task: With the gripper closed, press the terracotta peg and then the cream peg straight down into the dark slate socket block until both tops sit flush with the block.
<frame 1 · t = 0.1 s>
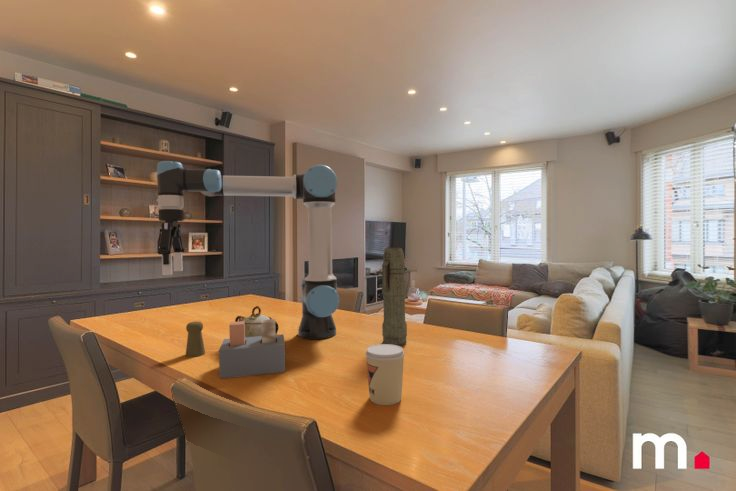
hand: (173, 273, 125), 28 cm above the table, fingers open, 13 cm apart
socket block: (254, 368, 113), on the table
terracotta peg: (237, 336, 112), point 10 cm above the table, slide at 6.0 cm
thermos: (394, 342, 138), on the table
sugar bowl: (256, 348, 134), on the table
green pepper mill: (195, 354, 128), on the table
cream lidded canister: (385, 398, 91), on the table
cream peg: (268, 334, 114), point 10 cm above the table, slide at 6.0 cm
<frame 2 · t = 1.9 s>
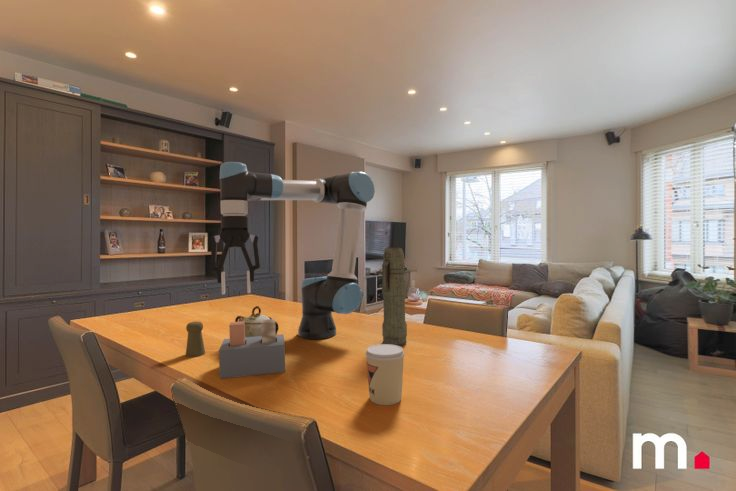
hand: (236, 293, 112), 23 cm above the table, fingers open, 6 cm apart
nothing on the table moved.
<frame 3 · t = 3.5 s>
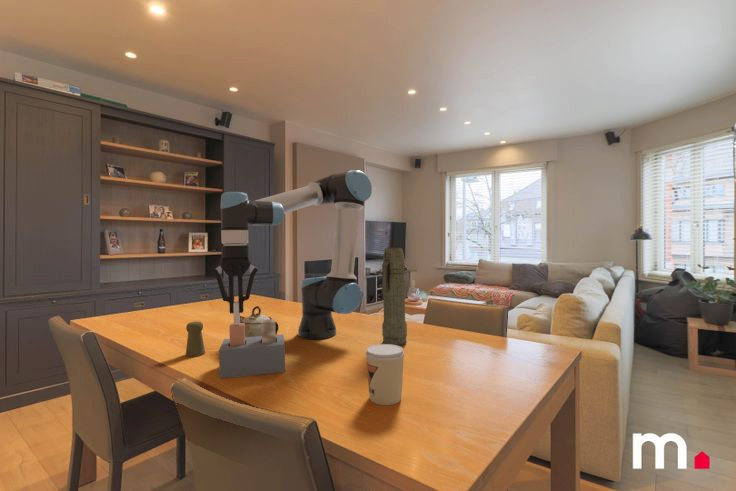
hand: (236, 323, 112), 14 cm above the table, fingers closed
terracotta peg: (237, 338, 112), point 10 cm above the table, slide at 5.5 cm, touching gripper
everything else where it was.
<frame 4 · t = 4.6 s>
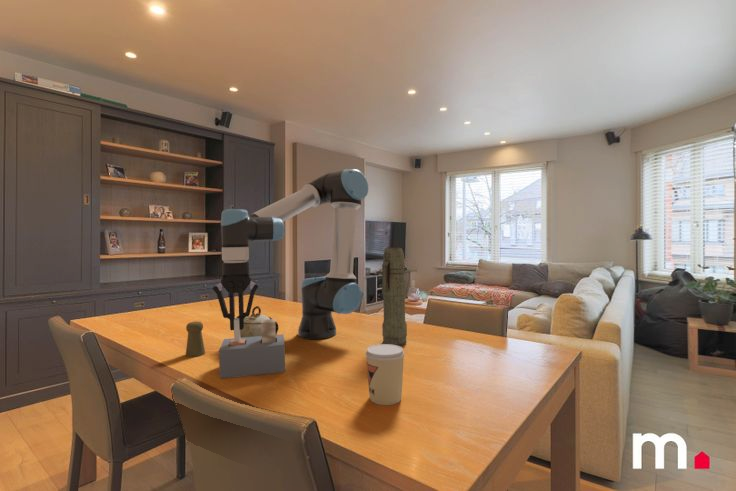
hand: (237, 340, 112), 9 cm above the table, fingers closed
terracotta peg: (238, 354, 112), point 5 cm above the table, slide at 0.5 cm, touching gripper
everything else where it was.
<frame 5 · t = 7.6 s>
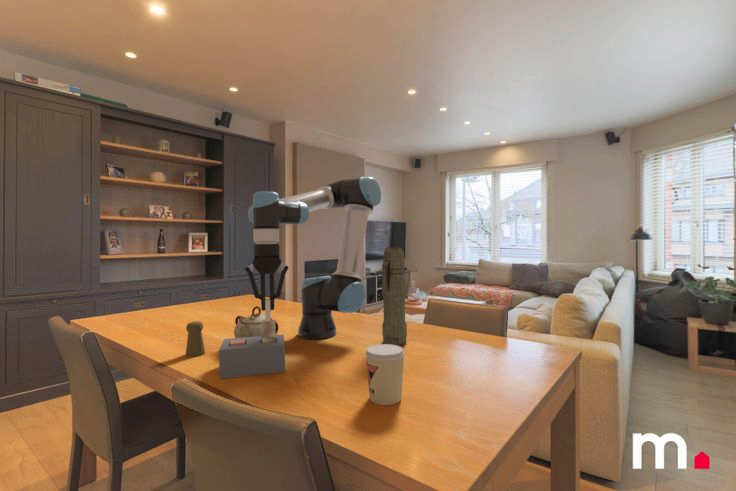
hand: (268, 320, 114), 14 cm above the table, fingers closed
terracotta peg: (238, 354, 112), point 4 cm above the table, slide at 0.5 cm
cream peg: (268, 334, 114), point 10 cm above the table, slide at 5.8 cm, touching gripper
everything else where it was.
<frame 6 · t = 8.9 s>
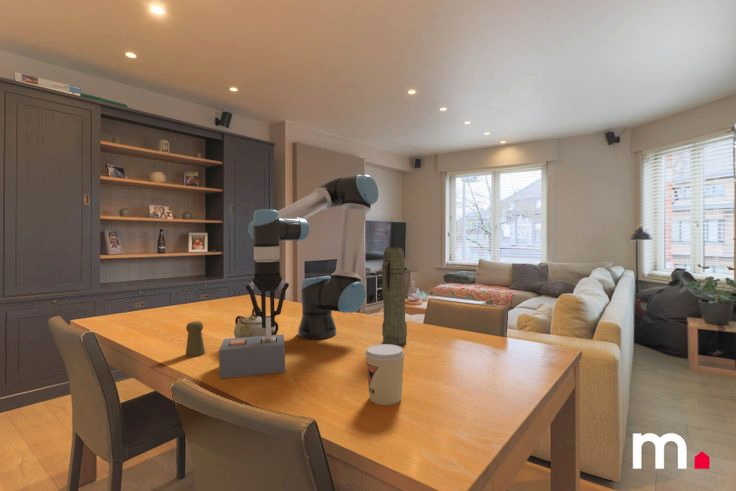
hand: (268, 338, 114), 9 cm above the table, fingers closed
cream peg: (269, 351, 114), point 5 cm above the table, slide at 0.5 cm, touching gripper
everything else where it was.
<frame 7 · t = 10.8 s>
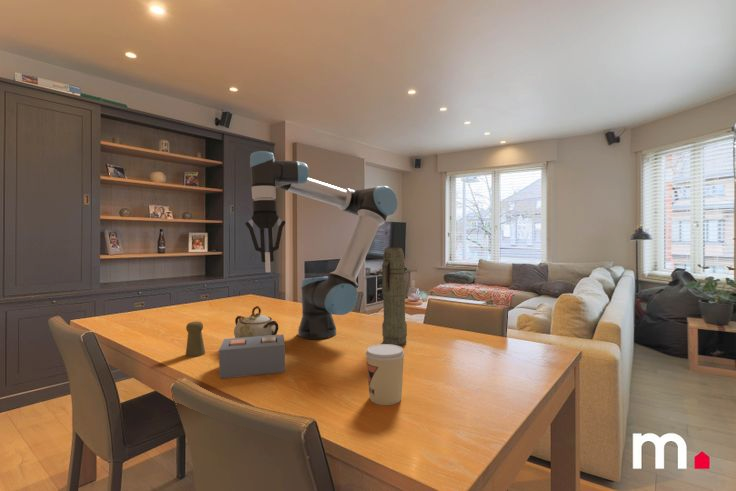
hand: (268, 271, 124), 28 cm above the table, fingers closed
cream peg: (269, 351, 114), point 4 cm above the table, slide at 0.5 cm
everything else where it was.
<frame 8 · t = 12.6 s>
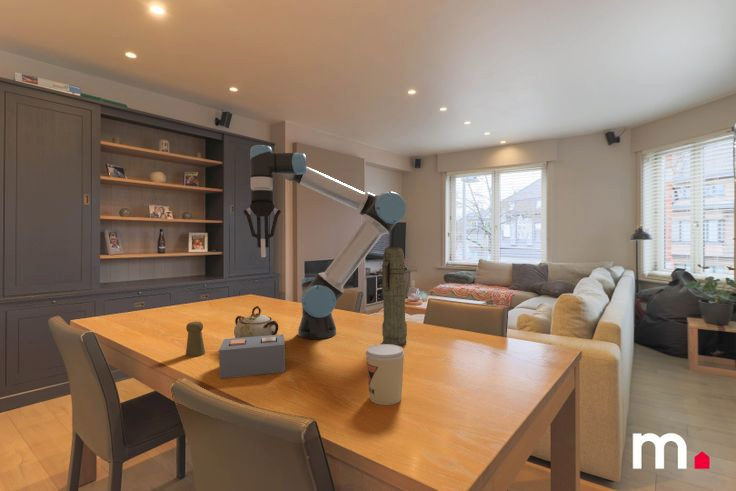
hand: (263, 256, 133), 32 cm above the table, fingers closed
nothing on the table moved.
at the end: terracotta peg slide at 0.5 cm; cream peg slide at 0.5 cm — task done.
